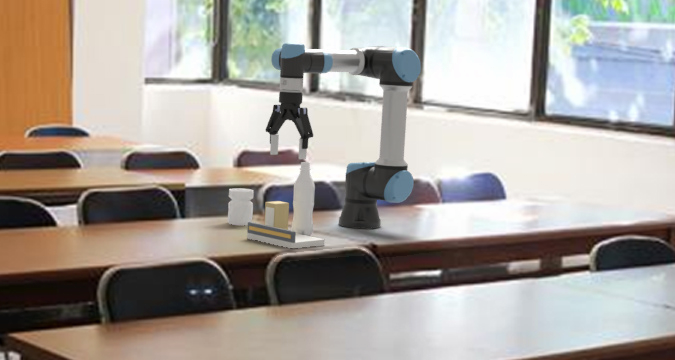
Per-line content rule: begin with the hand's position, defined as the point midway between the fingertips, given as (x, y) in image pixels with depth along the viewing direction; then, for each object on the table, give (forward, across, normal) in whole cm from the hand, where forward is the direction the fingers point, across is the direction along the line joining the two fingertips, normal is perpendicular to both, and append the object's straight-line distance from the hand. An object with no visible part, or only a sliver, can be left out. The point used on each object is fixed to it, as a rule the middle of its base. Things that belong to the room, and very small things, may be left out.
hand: (287, 156), depth 418 cm
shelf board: (+28, +1, 0) cm, 28 cm away
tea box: (+26, -6, +2) cm, 27 cm away
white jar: (+28, -36, +12) cm, 47 cm away
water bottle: (+28, -5, +13) cm, 31 cm away
